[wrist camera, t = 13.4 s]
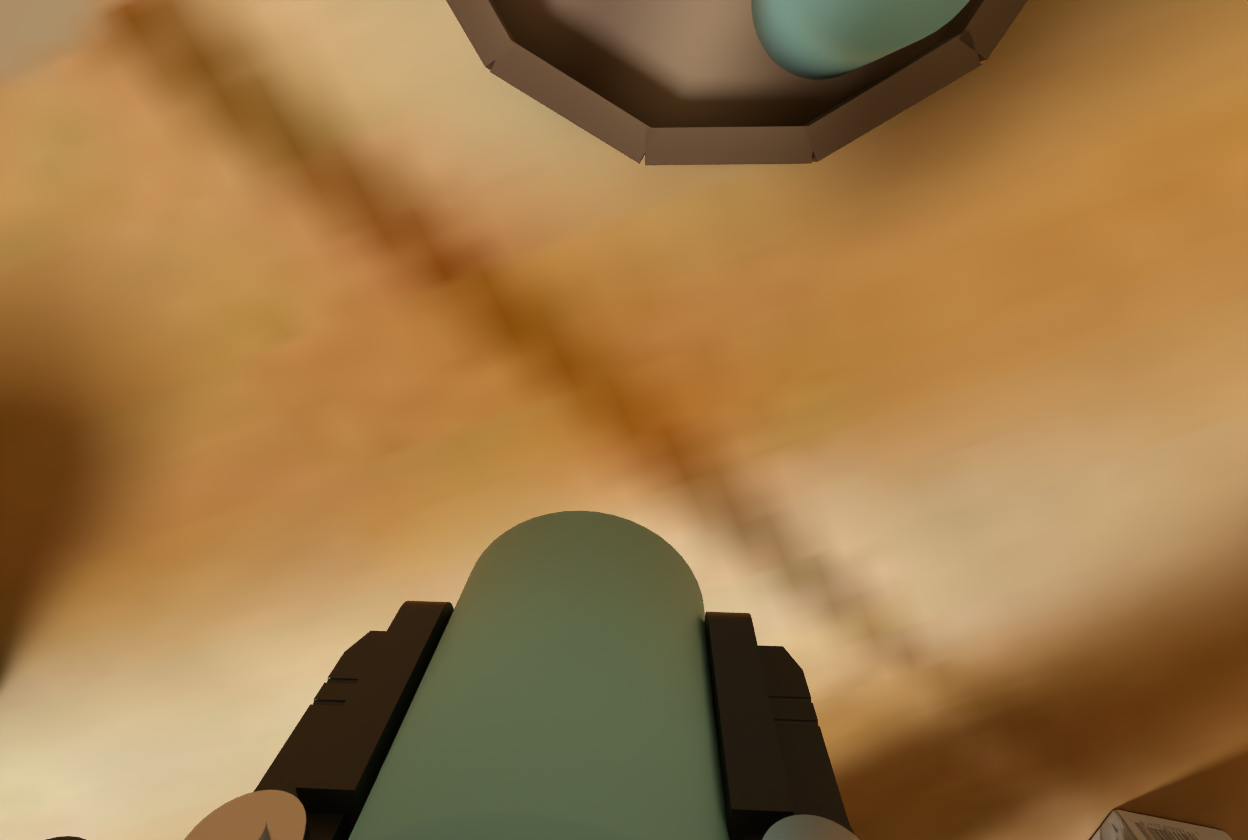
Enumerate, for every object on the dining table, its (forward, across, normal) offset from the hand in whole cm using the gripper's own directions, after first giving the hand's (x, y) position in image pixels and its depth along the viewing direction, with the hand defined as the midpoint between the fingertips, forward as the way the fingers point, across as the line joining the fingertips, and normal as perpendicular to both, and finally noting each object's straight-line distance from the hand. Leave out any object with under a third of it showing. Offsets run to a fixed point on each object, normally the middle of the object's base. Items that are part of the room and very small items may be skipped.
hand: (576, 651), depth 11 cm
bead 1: (+1, 0, 0) cm, 1 cm away
